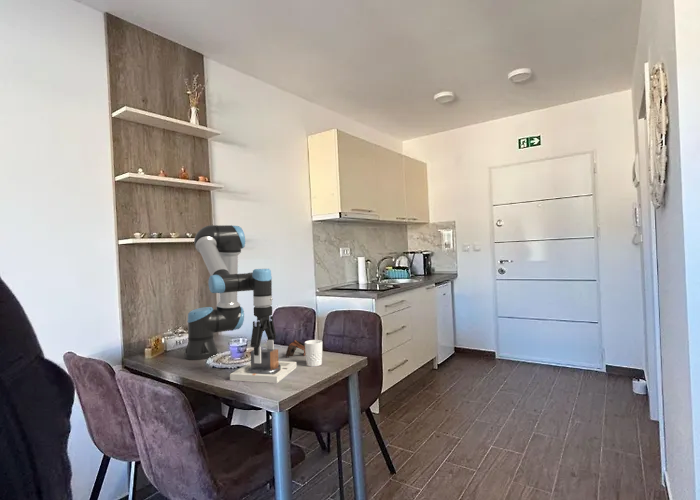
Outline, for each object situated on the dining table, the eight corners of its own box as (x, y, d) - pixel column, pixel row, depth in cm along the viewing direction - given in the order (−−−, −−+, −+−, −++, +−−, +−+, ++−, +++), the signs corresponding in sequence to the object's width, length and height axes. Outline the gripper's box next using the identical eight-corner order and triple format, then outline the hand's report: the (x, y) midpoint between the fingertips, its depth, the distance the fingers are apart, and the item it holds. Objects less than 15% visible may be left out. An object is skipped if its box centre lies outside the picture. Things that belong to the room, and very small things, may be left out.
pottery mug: (288, 353, 196) (296, 338, 197) (303, 363, 193) (312, 348, 194) (278, 353, 185) (287, 337, 185) (294, 364, 181) (303, 347, 182)
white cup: (319, 361, 179) (318, 339, 179) (325, 365, 172) (325, 342, 172) (302, 363, 176) (302, 341, 176) (308, 368, 169) (308, 344, 169)
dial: (242, 375, 158) (241, 353, 158) (257, 365, 170) (257, 346, 170) (272, 376, 154) (271, 355, 154) (285, 367, 167) (285, 346, 167)
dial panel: (230, 380, 155) (229, 373, 155) (254, 365, 174) (254, 359, 174) (277, 383, 150) (276, 376, 150) (296, 367, 170) (296, 361, 170)
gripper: (257, 310, 150) (259, 367, 150) (282, 302, 173) (284, 352, 173) (240, 310, 152) (241, 367, 152) (267, 302, 175) (268, 351, 175)
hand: (264, 359), depth 162 cm, fingers open, 11 cm apart
